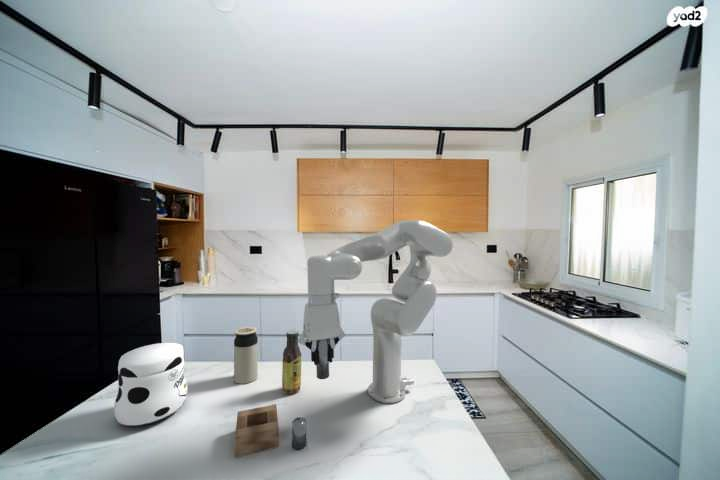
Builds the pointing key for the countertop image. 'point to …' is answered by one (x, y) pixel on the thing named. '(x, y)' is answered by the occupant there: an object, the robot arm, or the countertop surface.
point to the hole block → (256, 430)
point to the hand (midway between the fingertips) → (322, 361)
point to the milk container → (150, 384)
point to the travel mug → (245, 355)
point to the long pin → (323, 358)
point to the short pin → (299, 433)
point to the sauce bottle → (291, 364)
